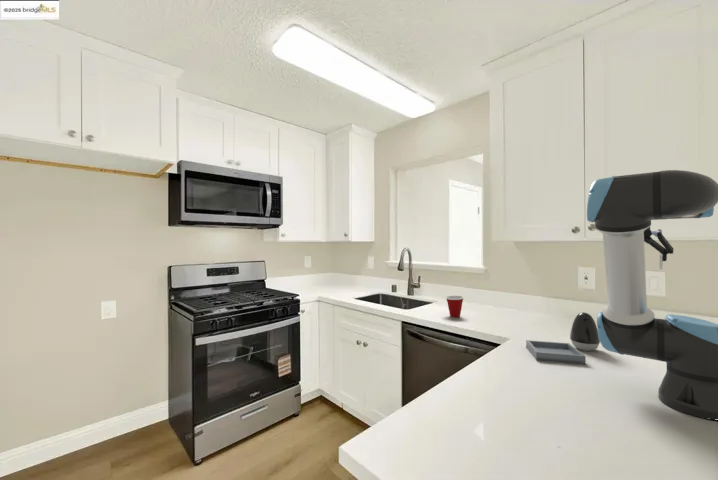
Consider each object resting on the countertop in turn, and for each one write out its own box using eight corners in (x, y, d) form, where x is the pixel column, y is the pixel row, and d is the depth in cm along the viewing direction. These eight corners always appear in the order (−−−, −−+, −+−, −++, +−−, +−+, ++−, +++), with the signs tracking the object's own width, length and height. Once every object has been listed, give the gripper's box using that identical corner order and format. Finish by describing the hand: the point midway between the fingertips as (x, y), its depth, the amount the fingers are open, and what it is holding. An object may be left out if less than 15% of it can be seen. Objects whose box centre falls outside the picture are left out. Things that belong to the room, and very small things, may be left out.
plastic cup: (441, 315, 197) (441, 296, 197) (455, 313, 201) (455, 294, 201) (453, 319, 187) (453, 298, 187) (467, 317, 191) (467, 297, 192)
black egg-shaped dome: (571, 350, 130) (571, 313, 130) (568, 344, 139) (568, 309, 139) (602, 354, 125) (602, 316, 125) (597, 347, 134) (596, 311, 135)
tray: (585, 364, 115) (585, 356, 115) (536, 360, 119) (536, 352, 119) (569, 350, 130) (569, 343, 130) (526, 347, 134) (526, 340, 134)
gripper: (683, 214, 114) (681, 262, 122) (597, 216, 132) (601, 258, 140) (683, 224, 110) (681, 274, 118) (594, 225, 127) (598, 268, 135)
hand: (637, 265), depth 129 cm, fingers open, 13 cm apart
